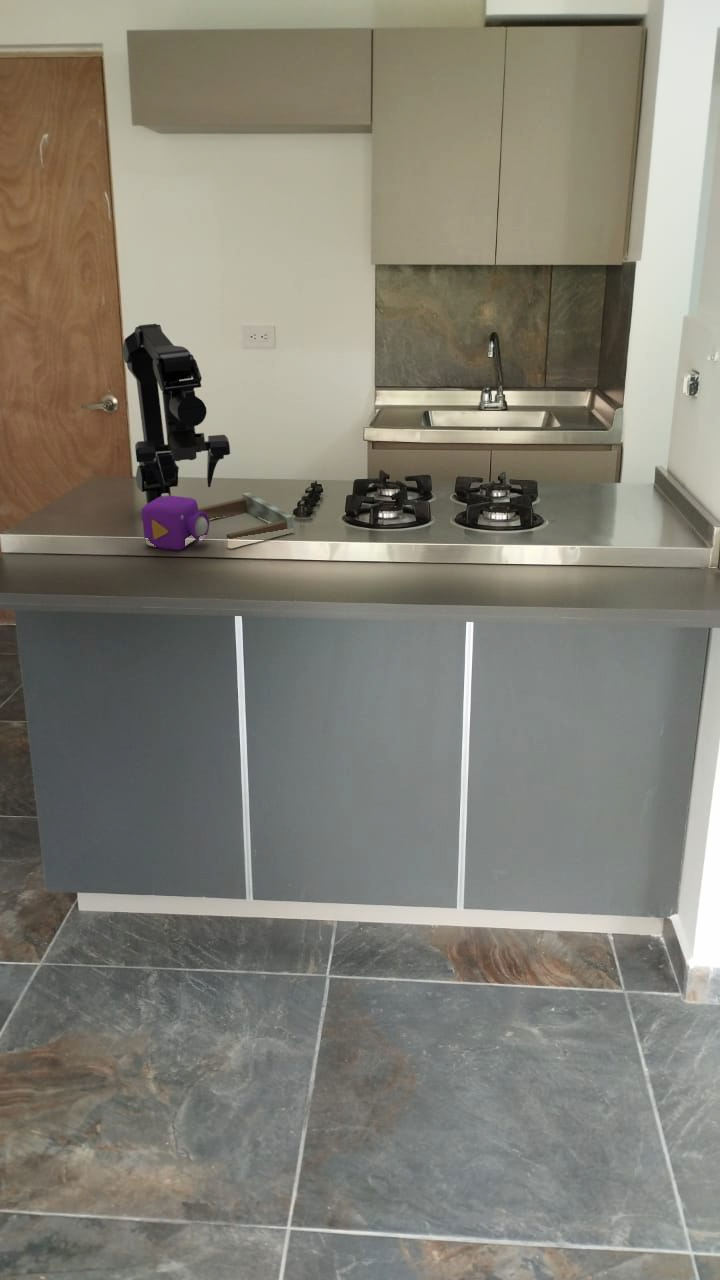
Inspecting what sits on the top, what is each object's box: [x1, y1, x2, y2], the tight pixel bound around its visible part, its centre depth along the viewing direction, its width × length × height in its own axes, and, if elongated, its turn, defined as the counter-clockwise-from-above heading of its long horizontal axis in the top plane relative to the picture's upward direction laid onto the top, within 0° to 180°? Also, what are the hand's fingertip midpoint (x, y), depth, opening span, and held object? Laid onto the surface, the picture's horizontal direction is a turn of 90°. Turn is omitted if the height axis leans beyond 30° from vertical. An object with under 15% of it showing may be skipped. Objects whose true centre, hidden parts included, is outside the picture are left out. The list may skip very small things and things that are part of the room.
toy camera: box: [141, 493, 210, 551], centre depth 231 cm, size 11×14×10 cm
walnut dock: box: [198, 492, 294, 539], centre depth 239 cm, size 20×16×4 cm
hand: (186, 488), depth 223 cm, fingers open, 9 cm apart
